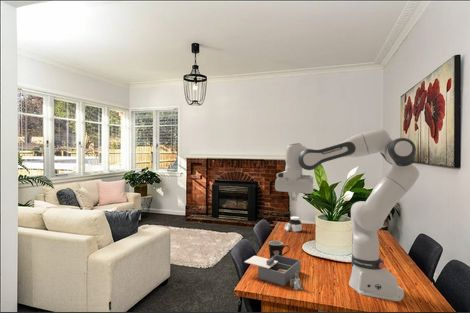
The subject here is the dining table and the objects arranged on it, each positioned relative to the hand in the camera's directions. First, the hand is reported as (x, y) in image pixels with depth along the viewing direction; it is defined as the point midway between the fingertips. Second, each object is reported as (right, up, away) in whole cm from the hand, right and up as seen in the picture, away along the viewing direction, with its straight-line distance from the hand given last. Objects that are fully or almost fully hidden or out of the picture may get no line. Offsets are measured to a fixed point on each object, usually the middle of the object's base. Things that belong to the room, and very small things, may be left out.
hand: (293, 200), depth 144 cm
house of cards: (-4, -38, -15) cm, 41 cm away
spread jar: (+15, -37, +74) cm, 84 cm away
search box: (-8, -37, -4) cm, 38 cm away
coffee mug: (-6, -37, +15) cm, 41 cm away
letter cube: (-8, -37, -10) cm, 39 cm away
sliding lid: (-17, -31, -4) cm, 36 cm away
